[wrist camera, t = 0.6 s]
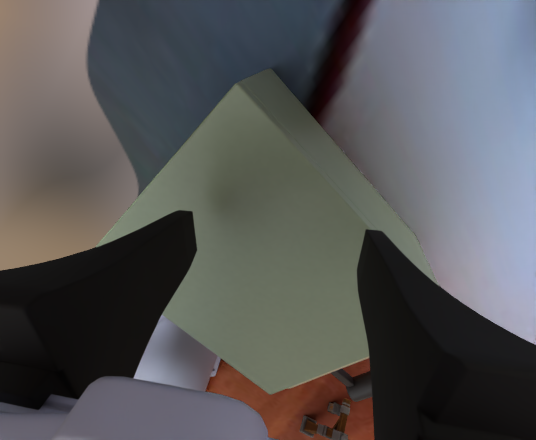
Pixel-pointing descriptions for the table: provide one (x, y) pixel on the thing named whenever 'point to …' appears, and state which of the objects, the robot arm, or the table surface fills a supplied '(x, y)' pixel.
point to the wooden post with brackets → (334, 434)
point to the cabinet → (270, 236)
